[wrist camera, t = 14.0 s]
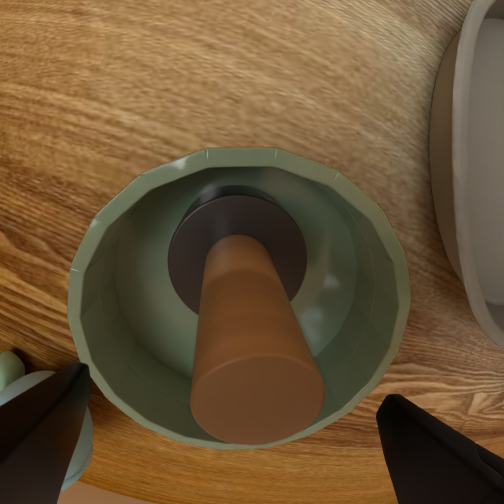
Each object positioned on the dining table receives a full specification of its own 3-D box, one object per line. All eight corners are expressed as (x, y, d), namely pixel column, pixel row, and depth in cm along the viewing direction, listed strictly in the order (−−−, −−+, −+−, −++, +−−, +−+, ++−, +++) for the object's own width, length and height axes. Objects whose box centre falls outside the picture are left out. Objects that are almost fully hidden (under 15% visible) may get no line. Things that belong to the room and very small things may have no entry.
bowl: (376, 341, 18) (414, 393, 13) (173, 405, 18) (165, 467, 13) (326, 113, 14) (373, 100, 9) (68, 208, 14) (13, 236, 9)
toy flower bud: (-109, 364, 7) (56, 491, 8) (-29, 301, 15) (113, 374, 17) (-74, 438, 9) (71, 534, 10) (-18, 373, 17) (106, 439, 19)
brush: (296, 284, 16) (381, 450, 6) (190, 302, 15) (165, 486, 6) (284, 176, 14) (407, 241, 4) (167, 196, 14) (63, 298, 4)
